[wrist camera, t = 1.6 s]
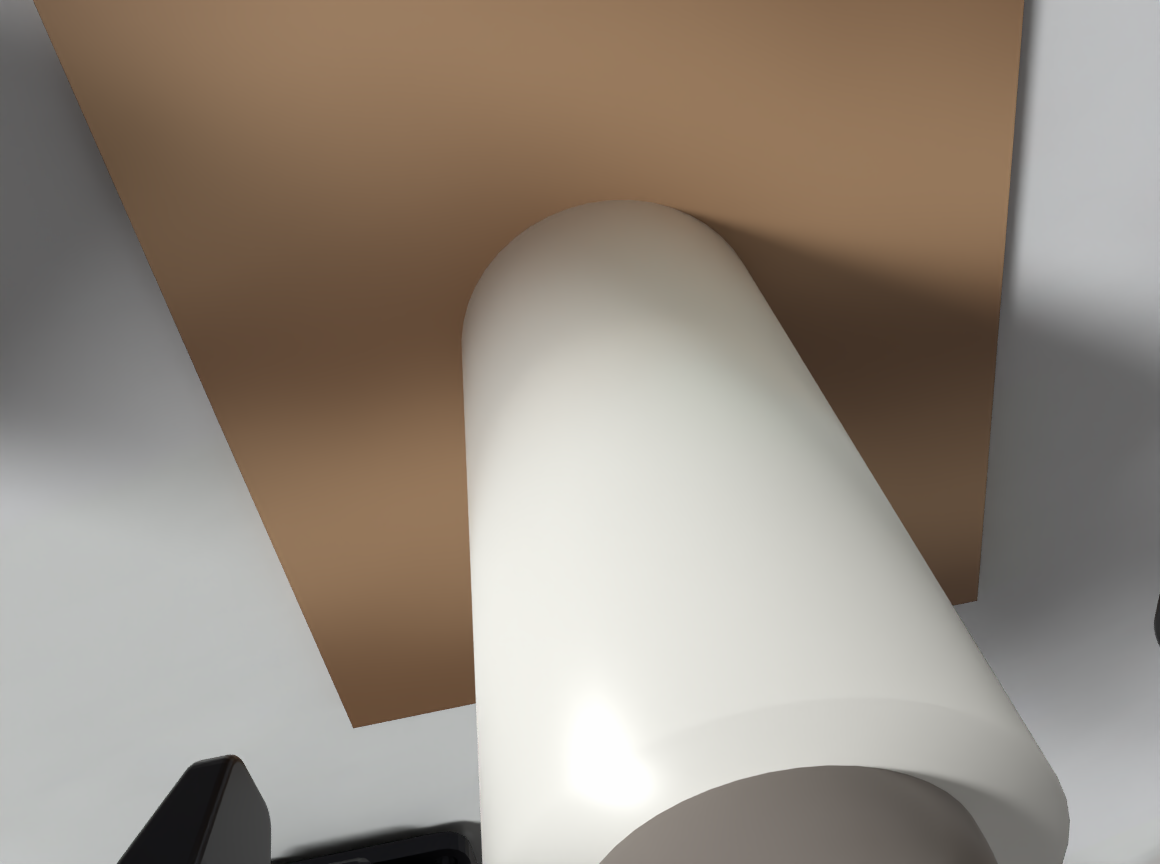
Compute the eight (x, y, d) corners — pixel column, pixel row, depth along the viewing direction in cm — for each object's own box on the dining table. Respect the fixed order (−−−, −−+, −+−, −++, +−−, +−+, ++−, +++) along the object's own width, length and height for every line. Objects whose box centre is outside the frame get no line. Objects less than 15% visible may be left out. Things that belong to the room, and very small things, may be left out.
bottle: (768, 436, 16) (1159, 1235, 8) (496, 491, 16) (566, 1360, 8) (749, 170, 14) (1304, 897, 5) (428, 235, 14) (410, 1083, 5)
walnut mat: (967, 586, 19) (977, 600, 19) (354, 712, 19) (353, 728, 19) (1030, -301, 12) (1048, -303, 11) (5, -97, 12) (-8, -92, 11)
